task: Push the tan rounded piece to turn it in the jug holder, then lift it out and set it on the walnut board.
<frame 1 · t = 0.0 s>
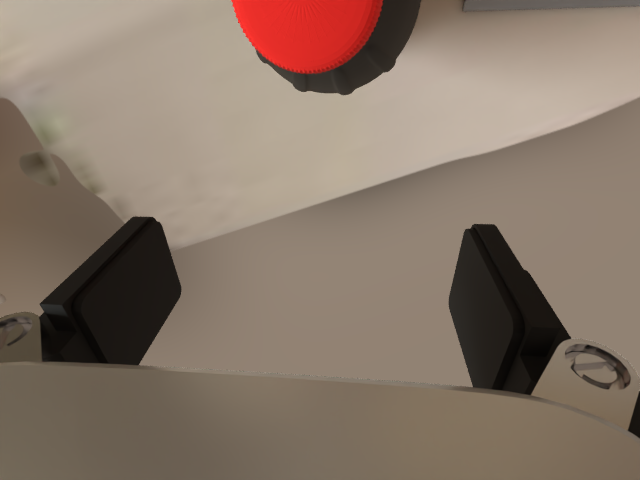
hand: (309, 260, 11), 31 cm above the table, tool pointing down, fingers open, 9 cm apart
cola bottle: (343, 2, 33), on the table
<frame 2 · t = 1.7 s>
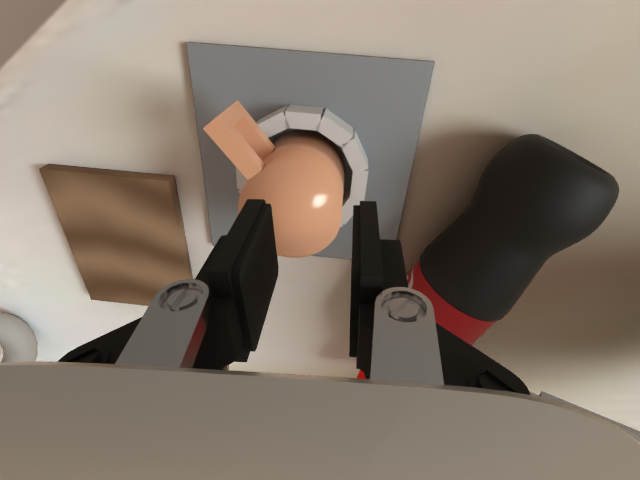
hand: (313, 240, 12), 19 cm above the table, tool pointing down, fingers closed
donut: (25, 321, 46), on the table
cola bottle: (576, 152, 24), point 4 cm above the table
jug holder: (305, 167, 31), on the table
walnut board: (131, 241, 37), on the table
tan rounded piece: (304, 169, 31), point 1 cm above the table, touching jug holder
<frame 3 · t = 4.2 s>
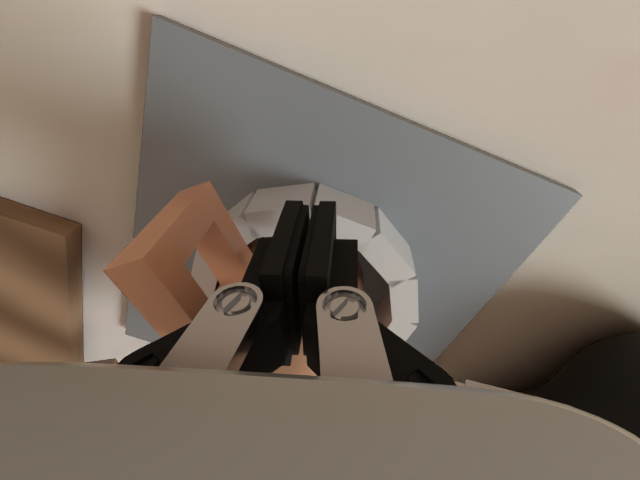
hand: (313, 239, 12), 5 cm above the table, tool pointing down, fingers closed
jug holder: (308, 271, 19), on the table
tan rounded piece: (296, 281, 19), point 1 cm above the table, touching jug holder
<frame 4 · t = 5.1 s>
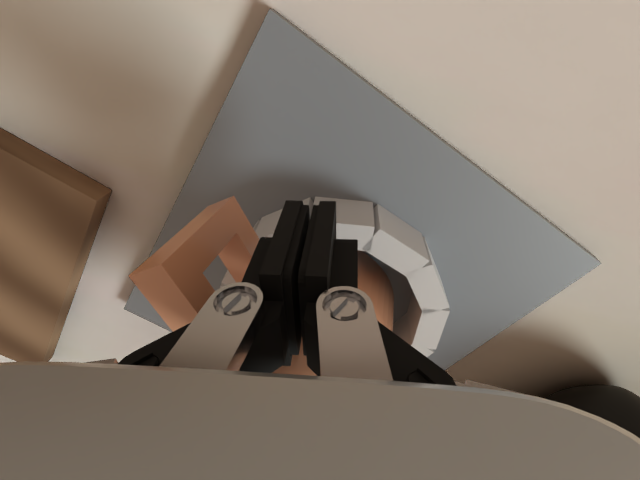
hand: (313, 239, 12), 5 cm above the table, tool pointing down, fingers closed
jug holder: (334, 281, 19), on the table
tan rounded piece: (326, 297, 19), point 1 cm above the table, tilted 7°, touching gripper, jug holder
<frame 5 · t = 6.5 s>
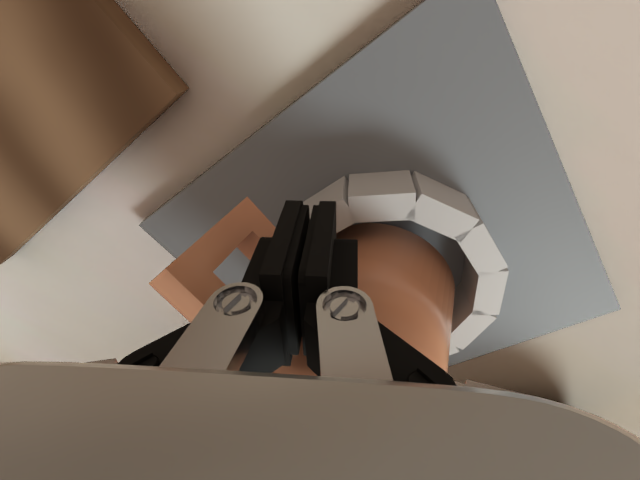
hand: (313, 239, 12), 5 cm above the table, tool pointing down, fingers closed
jug holder: (380, 260, 19), on the table
tan rounded piece: (380, 283, 18), point 2 cm above the table, tilted 15°, touching gripper
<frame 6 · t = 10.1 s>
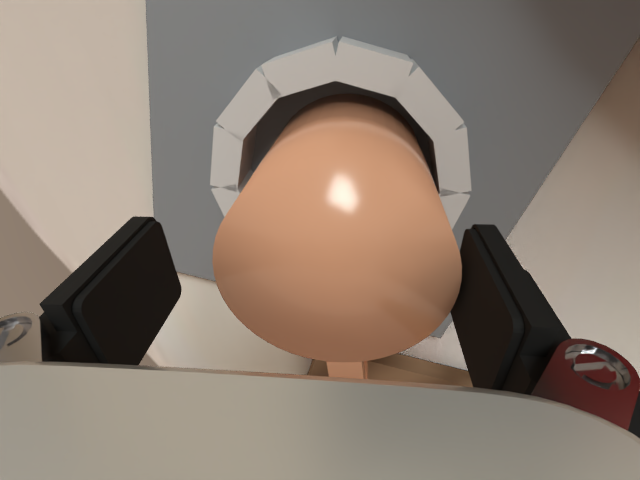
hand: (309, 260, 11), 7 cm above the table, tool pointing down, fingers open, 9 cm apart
jug holder: (339, 164, 17), on the table
walnut board: (402, 408, 28), on the table
tan rounded piece: (346, 172, 17), point 1 cm above the table, touching jug holder
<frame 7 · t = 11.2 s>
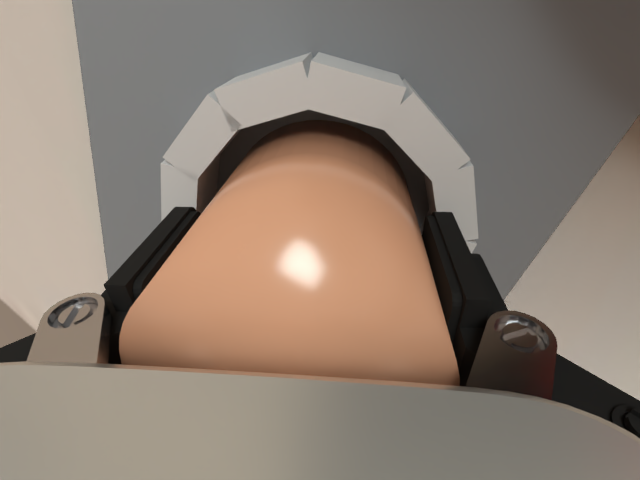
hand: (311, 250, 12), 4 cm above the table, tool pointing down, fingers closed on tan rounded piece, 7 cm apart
jug holder: (320, 200, 15), on the table
tan rounded piece: (319, 209, 14), point 1 cm above the table, touching gripper, jug holder
when the fingers open (5 cm above the table, at t = 18.5 s): tan rounded piece drops 1 cm, resting on walnut board.
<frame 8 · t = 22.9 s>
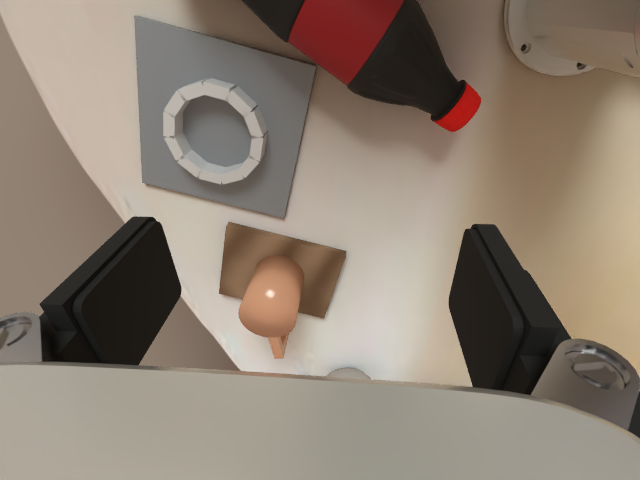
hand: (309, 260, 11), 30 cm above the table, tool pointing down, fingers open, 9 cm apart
donut: (347, 368, 62), on the table
jug holder: (221, 129, 40), on the table
walnut board: (280, 270, 51), on the table
tan rounded piece: (279, 275, 50), point 1 cm above the table, touching walnut board
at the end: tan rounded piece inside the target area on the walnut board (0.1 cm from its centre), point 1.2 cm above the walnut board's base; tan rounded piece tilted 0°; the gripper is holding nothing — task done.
